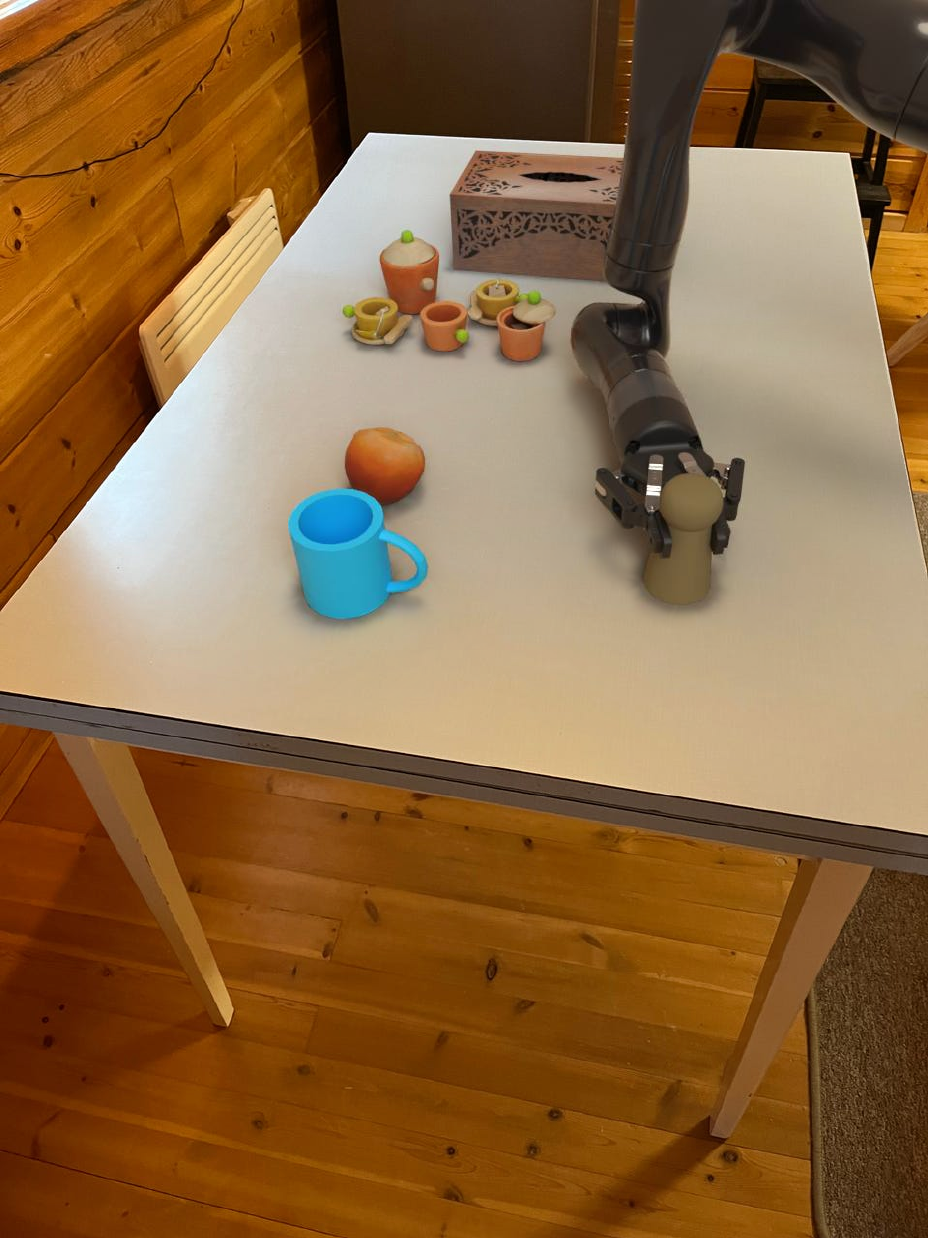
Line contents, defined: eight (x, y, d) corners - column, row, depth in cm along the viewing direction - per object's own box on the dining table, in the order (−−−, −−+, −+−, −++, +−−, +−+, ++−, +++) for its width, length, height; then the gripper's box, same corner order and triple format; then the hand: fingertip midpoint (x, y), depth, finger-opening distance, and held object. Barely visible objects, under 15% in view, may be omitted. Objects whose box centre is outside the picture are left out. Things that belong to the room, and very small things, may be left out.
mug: (290, 610, 83) (272, 543, 77) (323, 550, 89) (308, 482, 83) (417, 632, 81) (409, 565, 75) (443, 569, 86) (437, 501, 80)
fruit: (315, 489, 92) (337, 413, 89) (371, 489, 99) (393, 418, 95) (369, 526, 88) (394, 447, 85) (423, 523, 94) (448, 450, 91)
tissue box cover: (453, 269, 126) (449, 194, 118) (478, 222, 135) (475, 150, 128) (645, 283, 121) (653, 206, 113) (656, 234, 130) (664, 159, 123)
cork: (640, 557, 86) (653, 462, 78) (706, 557, 86) (726, 461, 78) (646, 604, 82) (660, 509, 74) (715, 604, 82) (737, 509, 73)
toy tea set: (335, 346, 114) (323, 270, 106) (381, 285, 123) (373, 213, 116) (542, 374, 107) (544, 297, 100) (573, 308, 117) (577, 233, 110)
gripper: (579, 399, 86) (612, 521, 74) (732, 388, 86) (788, 508, 74) (576, 464, 91) (605, 587, 80) (719, 453, 92) (769, 575, 80)
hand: (693, 548), depth 77 cm, fingers closed on cork, 4 cm apart
